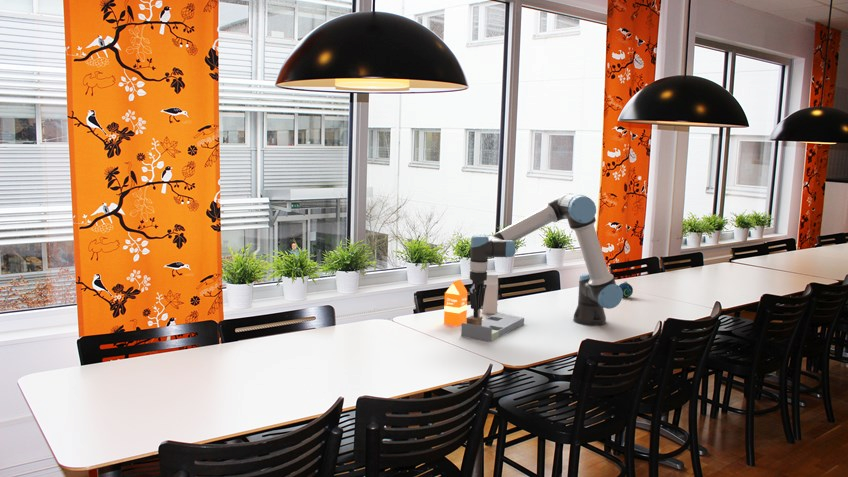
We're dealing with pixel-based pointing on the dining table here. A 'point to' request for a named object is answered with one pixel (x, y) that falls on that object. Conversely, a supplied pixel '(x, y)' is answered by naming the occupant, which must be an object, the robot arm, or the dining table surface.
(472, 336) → the board
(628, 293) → the christmas ornament
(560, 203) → the robot arm
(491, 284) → the milk carton
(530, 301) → the dining table surface
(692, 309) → the dining table surface
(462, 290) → the orange juice
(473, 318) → the walnut cube
